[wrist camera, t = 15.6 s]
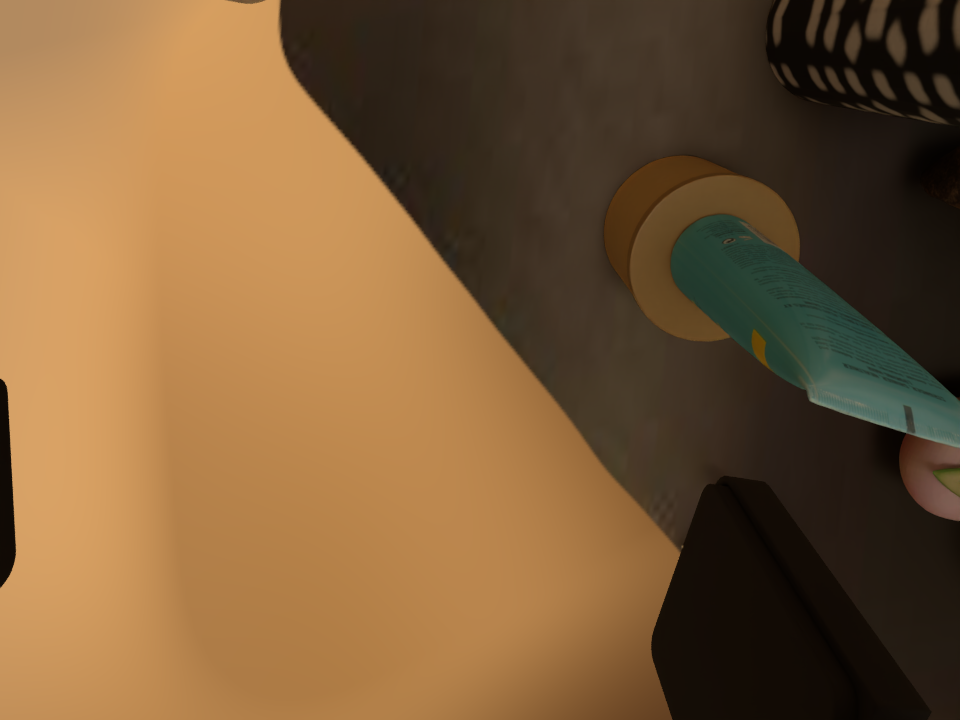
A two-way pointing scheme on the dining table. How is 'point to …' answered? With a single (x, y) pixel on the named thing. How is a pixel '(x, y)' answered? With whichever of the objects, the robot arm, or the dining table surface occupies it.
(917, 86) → the black spotted cylinder
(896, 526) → the dining table surface
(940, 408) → the tube
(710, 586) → the robot arm
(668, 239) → the canister
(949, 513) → the decorative fruit
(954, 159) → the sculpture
